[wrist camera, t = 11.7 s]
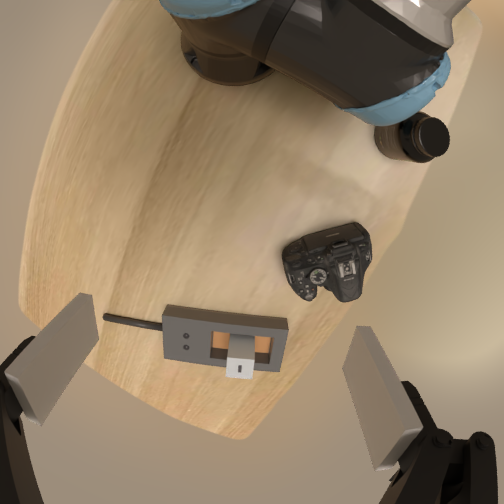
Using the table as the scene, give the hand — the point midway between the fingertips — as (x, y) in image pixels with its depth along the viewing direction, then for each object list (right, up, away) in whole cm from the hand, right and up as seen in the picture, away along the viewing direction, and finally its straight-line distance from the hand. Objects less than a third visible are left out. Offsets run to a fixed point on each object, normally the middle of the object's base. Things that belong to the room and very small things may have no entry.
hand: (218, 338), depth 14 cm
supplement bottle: (+23, +21, +26) cm, 41 cm away
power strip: (-9, -9, +37) cm, 39 cm away
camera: (+13, +4, +32) cm, 35 cm away
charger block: (0, -11, +37) cm, 38 cm away
